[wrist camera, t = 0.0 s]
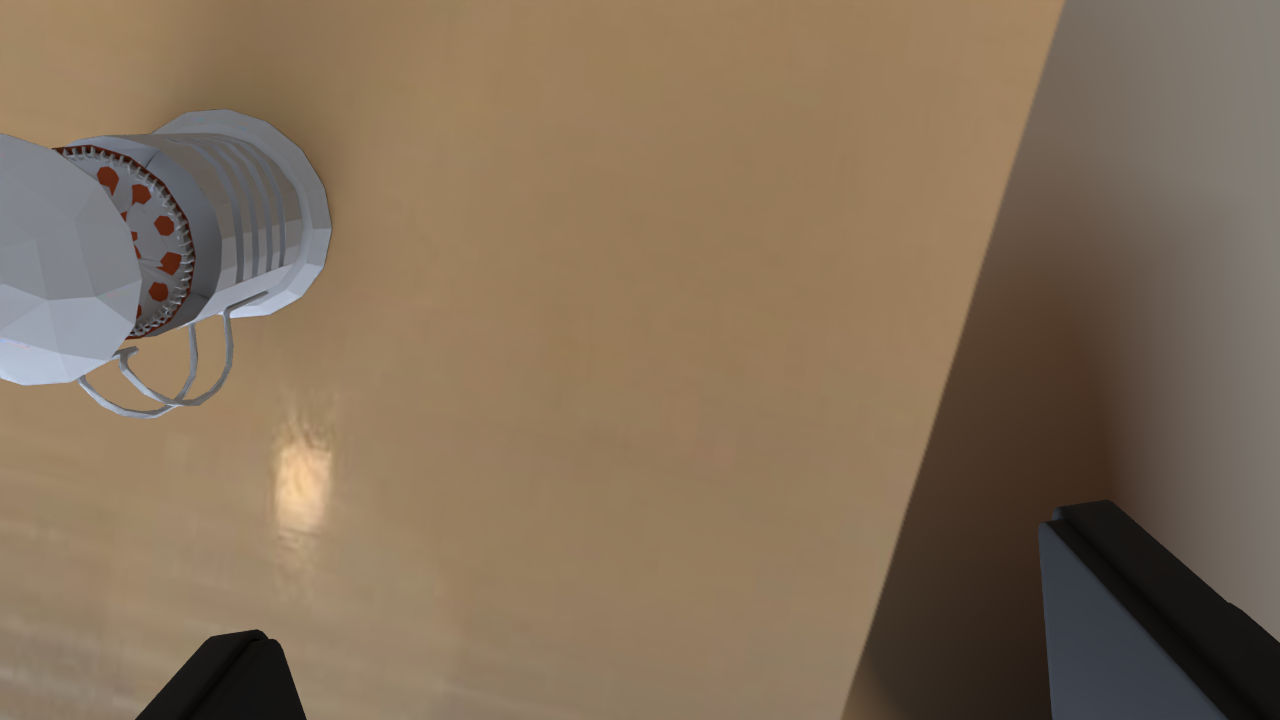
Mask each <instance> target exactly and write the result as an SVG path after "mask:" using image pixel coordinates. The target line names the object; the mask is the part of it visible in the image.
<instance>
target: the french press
mask: <svg viewBox="0 0 1280 720" xmlns="http://www.w3.org/2000/svg"><path fill="white" fill-rule="evenodd" d="M331 231H332V226H331V220H330V215H329V209H328V204H327V199H326V193H325V188H324V186H323V184H322V182H321V181H320V179H319V177H318V176H317V174H316V172H315V171H314V169H313V167H312V166H311V164H310V163H309V161H308V159H307V158H306V156H305V154H304V153H303V151H302V149H300V148H299V147H298V146H297V145H295V144H294V143H293V142H292V141H290V140H289V139H288V138H287V137H285V136H284V135H283V134H282V133H280V132H279V131H278V130H277V129H275V128H274V127H273V126H272V125H270V124H269V123H268V122H266V121H263V120H260V119H257V118H253V117H250V116H247V115H244V114H241V113H238V112H235V111H232V110H228V109H218V110H208V111H197V112H187V113H184V114H182V115H181V116H179V117H177V118H176V119H174V120H172V121H171V122H169V123H167V124H166V125H164V126H162V127H161V128H159V129H157V130H156V131H154V132H152V133H151V134H140V135H104V136H98V137H92V138H86V139H80V140H76V141H74V142H72V143H71V144H69V145H67V146H65V147H60V148H52V149H49V148H46V147H43V146H40V145H37V144H34V143H31V142H28V141H25V140H22V139H19V138H16V137H13V136H10V135H6V134H0V378H2V379H5V380H9V381H12V382H15V383H18V384H21V385H38V384H51V383H65V382H71V381H73V380H75V379H77V381H78V383H79V384H80V385H81V386H82V387H83V388H84V389H85V390H86V391H87V392H88V393H89V394H90V395H91V396H92V397H93V398H94V399H95V400H96V401H97V402H98V403H99V404H100V405H102V406H104V407H106V408H108V409H110V410H112V411H114V412H116V413H118V414H120V415H122V416H127V417H134V418H140V419H147V418H157V417H158V416H160V415H162V414H164V413H166V412H167V411H169V410H171V409H173V408H175V407H176V406H198V405H200V404H202V403H203V402H204V401H206V400H207V399H208V398H210V397H211V396H213V395H214V394H215V393H217V392H218V391H219V390H220V388H221V387H222V385H223V384H224V382H225V380H226V378H227V376H228V374H229V371H230V369H231V367H232V358H233V338H232V330H231V322H230V318H237V317H249V316H261V315H270V314H272V313H273V312H275V311H277V310H279V309H281V308H283V307H284V306H286V305H288V304H290V303H292V302H294V301H295V300H297V299H299V298H301V297H302V296H303V295H304V293H305V292H306V291H307V289H308V288H309V286H310V285H311V284H312V282H313V281H314V280H315V278H316V277H317V276H318V274H319V273H320V272H321V270H322V269H323V267H324V264H325V259H326V254H327V250H328V245H329V240H330V236H331ZM215 314H220V315H223V320H224V329H225V339H226V366H225V368H224V371H223V373H222V376H221V378H220V379H219V380H218V382H217V383H216V384H215V385H214V386H213V387H212V388H211V390H210V391H208V392H206V393H205V394H203V395H201V396H199V397H197V398H196V399H194V400H183V398H184V397H185V395H186V394H187V392H188V390H189V388H190V387H191V385H192V383H193V381H194V379H195V377H196V369H197V361H198V351H197V343H196V334H195V324H196V323H197V322H199V321H202V320H204V319H206V318H208V317H211V316H213V315H215ZM185 323H187V324H185ZM183 324H185V325H183ZM181 325H183V326H181ZM186 325H189V338H190V352H191V362H190V375H189V377H188V379H187V381H186V383H185V385H184V387H183V389H182V391H181V392H180V393H179V394H178V395H177V397H176V398H175V399H174V400H171V399H169V398H167V397H165V396H163V395H161V394H159V393H157V392H155V391H153V390H151V389H149V388H147V387H145V386H144V385H143V383H142V382H141V381H140V380H139V379H138V378H137V377H136V375H135V374H134V373H133V372H132V371H131V370H130V369H129V367H128V364H127V359H128V358H129V357H131V356H133V355H134V354H136V353H137V352H138V350H139V349H138V348H137V347H136V346H133V347H129V348H125V349H122V350H118V351H116V350H117V349H118V348H119V346H120V345H121V344H122V342H123V341H124V340H127V339H138V338H142V337H151V336H157V335H159V334H162V333H164V332H166V331H169V330H171V329H173V328H176V327H178V326H181V327H184V326H186ZM181 327H180V328H181ZM178 329H179V328H178ZM176 330H177V329H176ZM118 358H120V360H119V368H120V369H121V371H122V373H123V374H124V375H125V376H126V377H127V378H128V379H129V380H130V381H131V382H132V383H133V384H134V385H135V386H136V387H137V388H138V389H139V390H140V391H141V392H142V393H143V394H145V395H147V396H149V397H151V398H153V399H156V400H158V401H160V402H162V403H164V404H166V405H165V406H163V407H162V408H160V409H158V410H152V411H136V410H130V409H124V408H122V407H120V406H118V405H116V404H114V403H112V402H110V401H108V400H106V399H104V398H102V397H101V396H100V395H99V394H98V393H97V392H96V390H95V389H94V388H93V387H92V386H91V385H90V384H89V383H88V382H87V381H86V380H85V374H86V373H88V372H90V371H92V370H93V369H95V368H97V367H99V366H101V365H102V364H104V363H106V362H108V361H111V360H114V359H118Z"/></svg>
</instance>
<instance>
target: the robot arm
mask: <svg viewBox="0 0 1280 720" xmlns="http://www.w3.org/2000/svg"><path fill="white" fill-rule="evenodd" d="M1039 547H1040V561H1041V575H1042V587H1043V601H1044V613H1045V626H1046V627H1045V628H1046V641H1047V654H1048V665H1049V666H1048V667H1049V680H1050V694H1051V707H1052V717H1053V720H1280V643H1279V642H1278V641H1277V640H1276V639H1275V638H1274V637H1272V636H1271V635H1270V634H1269V633H1268V632H1267V631H1265V630H1264V629H1263V628H1262V627H1261V626H1260V625H1259V624H1257V623H1256V622H1255V621H1254V620H1253V619H1252V618H1250V617H1249V616H1248V615H1247V614H1246V613H1244V612H1243V611H1242V610H1241V609H1239V608H1238V607H1236V606H1235V605H1233V604H1231V603H1228V602H1227V601H1226V600H1224V599H1223V598H1222V597H1221V596H1220V595H1219V594H1218V593H1216V592H1215V591H1214V590H1213V589H1212V588H1211V587H1210V586H1208V585H1207V584H1206V583H1205V582H1204V581H1203V580H1202V579H1200V578H1199V577H1198V576H1197V575H1196V574H1195V573H1193V572H1192V571H1191V570H1190V569H1189V568H1188V567H1187V566H1185V565H1184V564H1183V563H1182V562H1181V561H1180V560H1179V559H1177V558H1176V557H1175V556H1174V555H1173V554H1172V553H1170V552H1169V551H1168V550H1167V549H1166V548H1165V547H1164V546H1162V545H1161V544H1160V543H1159V542H1158V541H1157V540H1156V539H1154V538H1153V537H1152V536H1151V535H1150V534H1149V533H1147V532H1146V531H1145V530H1144V529H1143V528H1142V527H1141V526H1139V525H1138V524H1137V523H1136V522H1135V521H1134V520H1133V519H1131V518H1130V517H1129V516H1128V515H1127V514H1126V513H1125V512H1123V511H1122V510H1121V509H1120V508H1119V507H1118V506H1117V505H1115V504H1114V503H1113V502H1111V501H1109V500H1101V501H1094V502H1088V503H1081V504H1075V505H1069V506H1061V507H1057V508H1056V509H1055V510H1054V512H1053V516H1052V521H1046V522H1042V523H1041V524H1040V526H1039ZM135 720H307V719H306V716H305V713H304V711H303V708H302V705H301V702H300V699H299V696H298V693H297V690H296V687H295V684H294V681H293V678H292V675H291V672H290V670H289V667H288V664H287V661H286V658H285V655H284V652H283V649H282V647H281V645H280V644H279V643H278V641H277V640H274V639H268V637H267V636H266V635H265V634H264V633H263V632H262V631H260V630H257V629H256V630H249V631H243V632H236V633H230V634H223V635H217V636H212V637H210V638H209V639H207V640H206V641H205V642H204V643H203V644H202V645H201V646H200V648H199V649H198V650H197V651H196V652H195V653H194V654H193V655H192V656H191V658H190V659H189V660H188V661H187V662H186V663H185V664H184V665H183V667H182V668H181V669H180V670H179V671H178V672H177V673H176V674H175V675H174V677H173V678H172V679H171V680H170V681H169V682H168V683H167V684H166V686H165V687H164V688H163V689H162V690H161V691H160V692H159V693H158V694H157V696H156V697H155V698H154V699H153V700H152V701H151V702H150V703H149V705H148V706H147V707H146V708H145V709H144V710H143V711H142V712H141V713H140V715H139V716H138V717H137V718H136V719H135Z"/></svg>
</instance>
